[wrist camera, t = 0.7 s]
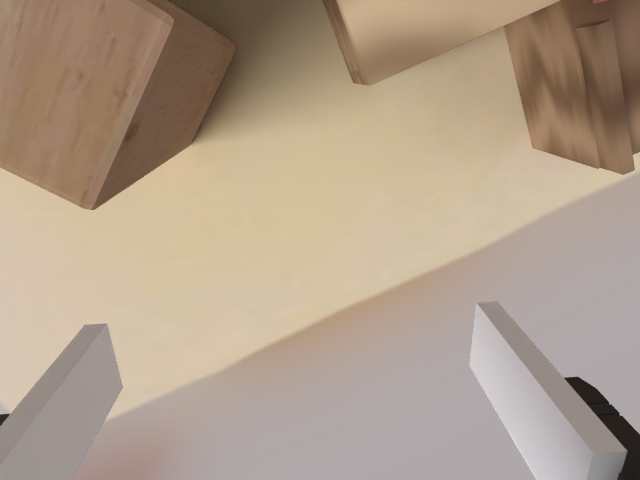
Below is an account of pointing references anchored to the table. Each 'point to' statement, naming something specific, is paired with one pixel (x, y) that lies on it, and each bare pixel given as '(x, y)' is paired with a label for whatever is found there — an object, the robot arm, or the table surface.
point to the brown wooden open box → (568, 78)
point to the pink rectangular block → (598, 1)
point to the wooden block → (102, 91)
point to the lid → (421, 28)
